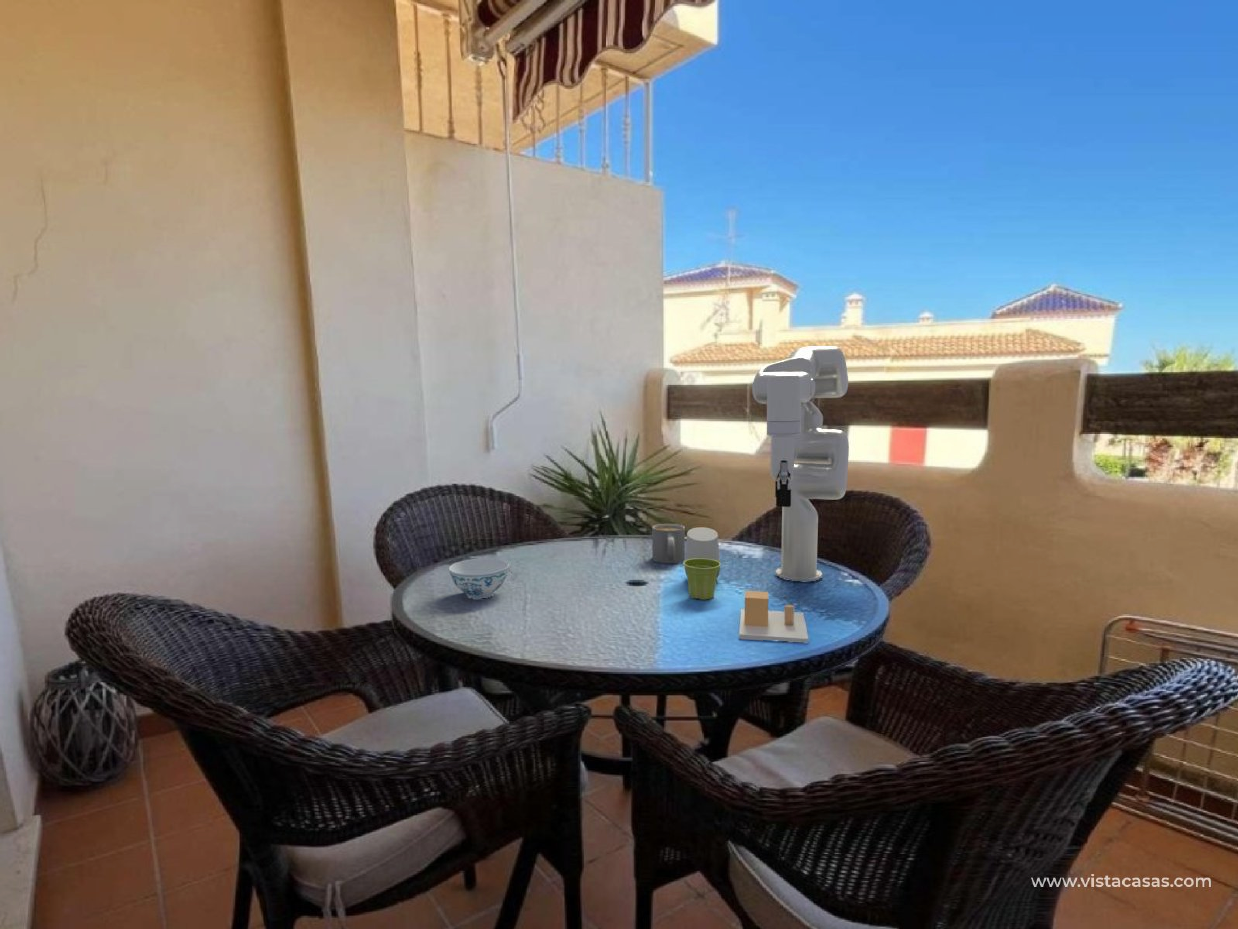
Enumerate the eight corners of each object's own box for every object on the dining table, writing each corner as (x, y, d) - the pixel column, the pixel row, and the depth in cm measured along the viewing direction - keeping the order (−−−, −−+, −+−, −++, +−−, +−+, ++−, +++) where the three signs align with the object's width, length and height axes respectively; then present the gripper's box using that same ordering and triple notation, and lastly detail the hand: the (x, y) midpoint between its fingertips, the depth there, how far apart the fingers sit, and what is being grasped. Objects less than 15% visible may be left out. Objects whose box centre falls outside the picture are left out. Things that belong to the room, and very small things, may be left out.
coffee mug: (654, 554, 208) (654, 523, 207) (685, 555, 206) (685, 524, 205) (649, 565, 195) (648, 532, 194) (682, 566, 193) (682, 533, 192)
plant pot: (709, 588, 172) (709, 556, 171) (727, 599, 163) (727, 565, 162) (676, 593, 168) (676, 560, 167) (694, 604, 160) (694, 569, 159)
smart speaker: (687, 585, 175) (687, 534, 173) (682, 575, 184) (682, 526, 182) (722, 584, 175) (723, 533, 173) (716, 575, 184) (716, 526, 183)
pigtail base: (741, 613, 153) (741, 592, 152) (803, 616, 150) (803, 595, 149) (739, 638, 137) (739, 615, 137) (808, 643, 134) (808, 620, 134)
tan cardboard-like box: (744, 617, 147) (745, 590, 147) (767, 618, 146) (768, 591, 146) (744, 625, 142) (744, 597, 142) (768, 626, 141) (768, 598, 141)
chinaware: (478, 583, 179) (477, 556, 178) (521, 591, 171) (520, 563, 170) (437, 599, 166) (436, 569, 165) (482, 608, 158) (480, 577, 157)
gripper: (766, 424, 158) (766, 494, 161) (766, 432, 141) (766, 510, 144) (798, 424, 157) (797, 494, 159) (802, 432, 140) (801, 510, 143)
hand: (782, 501), depth 152 cm, fingers open, 9 cm apart
